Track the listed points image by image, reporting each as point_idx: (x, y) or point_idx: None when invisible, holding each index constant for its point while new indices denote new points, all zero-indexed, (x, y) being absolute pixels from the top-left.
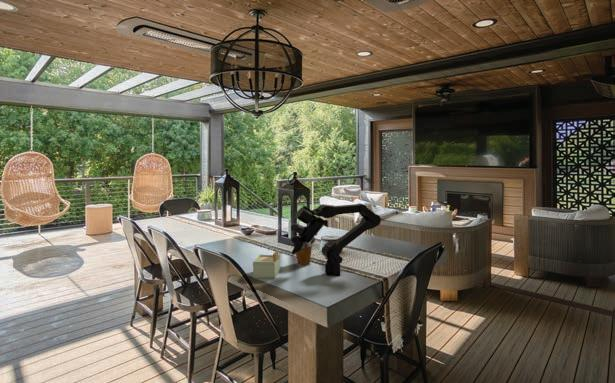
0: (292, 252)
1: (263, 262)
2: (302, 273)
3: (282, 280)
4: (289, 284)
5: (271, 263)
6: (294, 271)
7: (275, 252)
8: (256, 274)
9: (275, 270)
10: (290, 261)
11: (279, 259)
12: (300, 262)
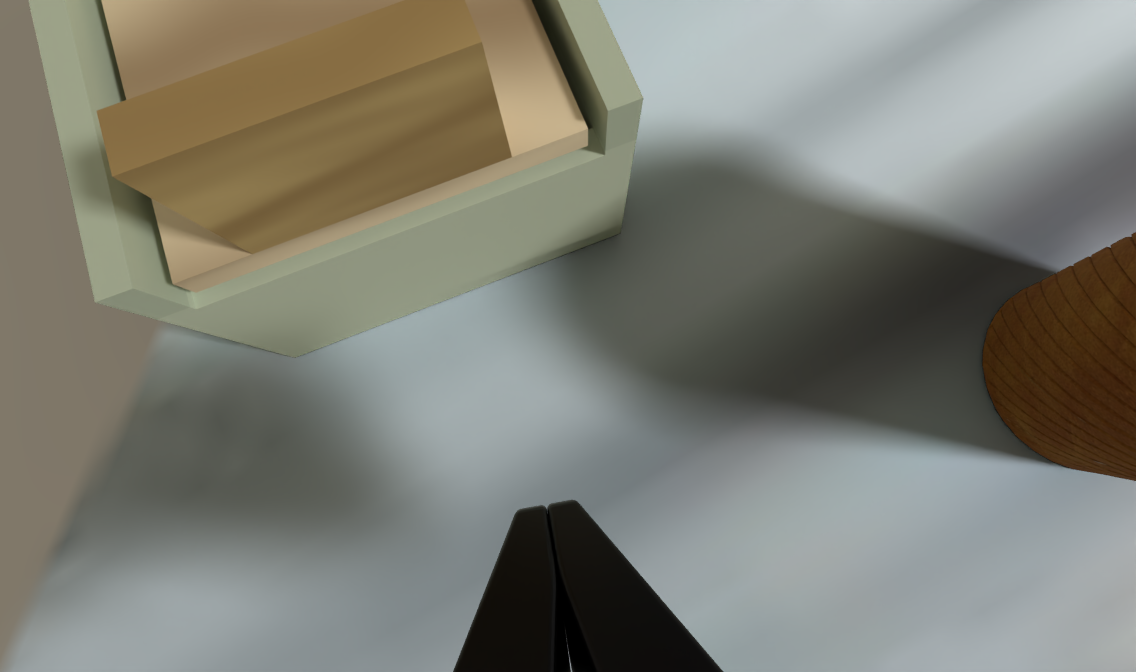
0: (509, 547)
1: (55, 98)
2: (671, 591)
3: (277, 484)
4: (166, 664)
5: (102, 249)
6: (691, 431)
7: (297, 65)
8: None
9: (285, 319)
10: (1063, 136)
11: (603, 156)
12: (1017, 365)
